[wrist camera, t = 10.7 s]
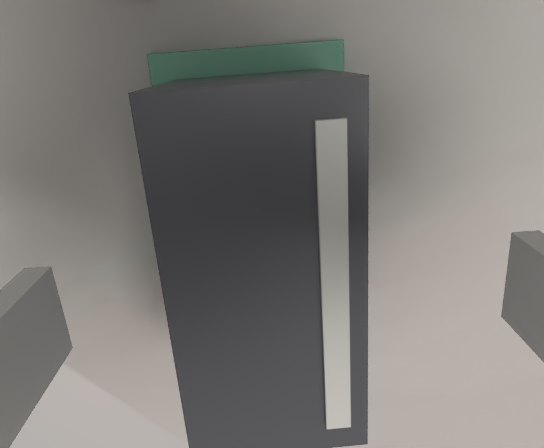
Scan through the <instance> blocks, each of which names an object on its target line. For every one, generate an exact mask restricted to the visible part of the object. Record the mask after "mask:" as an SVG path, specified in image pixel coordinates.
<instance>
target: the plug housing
mask: <svg viewBox="0 0 544 448" xmlns="http://www.w3.org/2000/svg"><path fill="white" fill-rule="evenodd" d="M128 94H129V99H130V105H131V111H132V117H133V123H134V129H135V134H136V140H137V146H138V152H139V158H140V164H141V169H142V175H143V181H144V187H145V193H146V199H147V204H148V210H149V216H150V222H151V228H152V234H153V239H154V245H155V251H156V257H157V263H158V269H159V274H160V280H161V286H162V292H163V298H164V304H165V309H166V315H167V321H168V327H169V333H170V339H171V344H172V350H173V356H174V362H175V368H176V374H177V379H178V385H179V391H180V397H181V403H182V409H183V414H184V420H185V426H186V432H187V438H188V444H189V448H332V447H342V446H353V445H363V444H367V429H368V113H369V75H364V74H356V73H349V72H342V71H335V70H327V69H308V70H295V71H282V72H268V73H255V74H242V75H228V76H215V77H202V78H188V79H176V80H172V81H169V82H165V83H162V84H159V85H155V86H152V87H148V88H145V89H141V90H138V91H135V92H131V93H128Z"/></svg>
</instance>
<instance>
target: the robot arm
mask: <svg viewBox="0 0 544 448" xmlns="http://www.w3.org/2000/svg"><path fill="white" fill-rule="evenodd" d="M501 316H502V317H503V319H504V320H505V321H506V322H507V323H508V324H509V325H510V326H511V327H512V328H513V329H514V331H515V332H516V333H517V334H518V335H519V336H520V337H521V338H522V339H523V340H524V341H525V342H526V344H527V345H528V346H529V347H530V348H531V349H532V350H533V351H534V352H535V353H536V354H537V356H538V357H539V358H540V359H541V360H542V361H543V362H544V234H543V233H542V232H540V231H539V230H538V231H524V232H512V234H511V242H510V250H509V258H508V266H507V274H506V283H505V291H504V299H503V307H502V315H501ZM72 348H73V347H72V344H71V340H70V336H69V332H68V328H67V325H66V321H65V317H64V313H63V310H62V306H61V302H60V298H59V294H58V291H57V287H56V283H55V279H54V276H53V272H52V268H51V266H50V267H36V268H24V269H23V270H22V271H21V272H20V273H19V274H17V275H16V276H15V277H14V278H13V279H12V280H11V281H10V282H9V283H8V284H7V285H5V286H4V287H3V288H2V289H1V290H0V448H9V447H10V445H11V444H12V442H13V441H14V439H15V438H16V436H17V434H18V433H19V431H20V430H21V428H22V427H23V425H24V423H25V422H26V420H27V419H28V417H29V416H30V414H31V412H32V411H33V409H34V408H35V406H36V404H37V403H38V401H39V400H40V398H41V397H42V395H43V393H44V392H45V390H46V389H47V387H48V386H49V384H50V383H51V381H52V379H53V378H54V376H55V375H56V373H57V372H58V370H59V368H60V367H61V365H62V364H63V362H64V361H65V359H66V357H67V356H68V354H69V353H70V351H71V350H72Z"/></svg>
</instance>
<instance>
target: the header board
mask: <svg viewBox="0 0 544 448" xmlns="http://www.w3.org/2000/svg"><path fill="white" fill-rule="evenodd" d="M147 58H148V65H149V71H150V78H151V84H152V86H155V85H159V84H162V83H165V82H169V81H172V80H176V79H188V78H202V77H215V76H228V75H242V74H255V73H268V72H282V71H295V70H308V69H327V70H335V71H342V72H344V40H332V41H318V42H305V43H291V44H277V45H264V46H250V47H236V48H223V49H209V50H196V51H182V52H168V53H155V54H147Z"/></svg>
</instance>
